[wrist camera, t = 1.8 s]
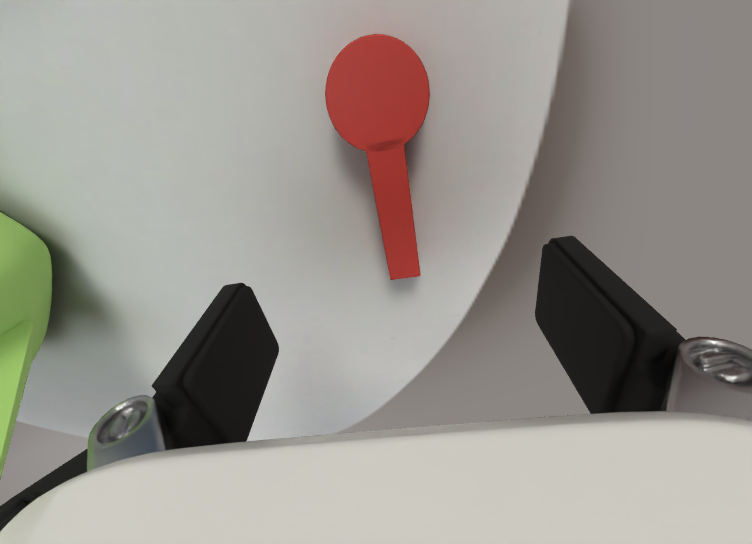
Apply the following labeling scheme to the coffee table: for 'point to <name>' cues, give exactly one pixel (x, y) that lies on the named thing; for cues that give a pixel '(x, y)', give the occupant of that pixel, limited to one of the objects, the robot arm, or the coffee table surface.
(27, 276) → the teapot
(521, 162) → the coffee table surface
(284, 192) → the coffee table surface
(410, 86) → the red spoon
